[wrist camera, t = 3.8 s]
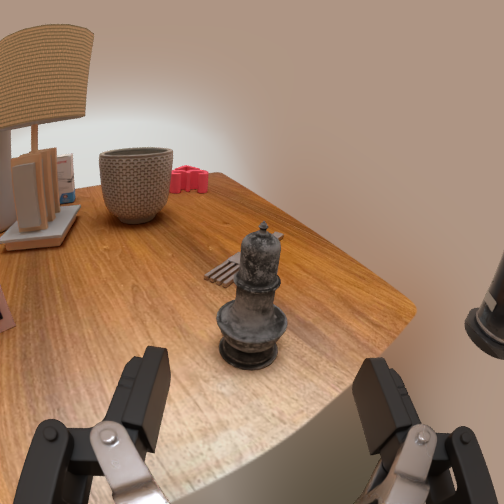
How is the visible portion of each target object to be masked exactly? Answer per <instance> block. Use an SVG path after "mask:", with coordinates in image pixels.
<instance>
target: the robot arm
mask: <svg viewBox="0 0 504 504" xmlns="http://www.w3.org/2000/svg"><path fill="white" fill-rule="evenodd" d="M475 322H476V325H477V326H478V328H479V329H480V331H481V332H482V333H483V334H484V335H485V336H486V337H488V338H489V339H490V340H492V341H493V342H495V343H497V344H499V345H503V346H504V252H503V255H502V257H501V260H500V263H499V265H498V268H497V270H496V273H495V275H494V278H493V280H492V282H491V285H490V287H489V289H488V291H487V293H486V296H485V298H484V300H483V302H482V304H481V306H480V308H479V309H478V311H477V313H476V315H475ZM170 380H171V372H170V365H169V358H168V351H167V349H166V348H161V347H154V346H147V348H146V350H145V353H144V356H143V358H141V357H135V356H134V357H133V358H132V359H131V360H130V361H129V362H128V363H127V364H126V365H125V367H124V370H123V372H122V375H121V377H120V380H119V382H118V386H117V387H116V390H115V392H114V395H113V398H112V400H111V403H110V406H109V408H108V411H107V414H106V416H105V418H104V419H103V421H102V422H100V423H98V424H96V425H95V426H94V427H91V428H66V427H65V425H64V424H63V423H62V422H60V421H58V420H55V419H48V420H45V421H43V422H41V423H40V424H39V425H38V427H37V429H36V431H35V434H34V437H33V439H32V442H31V445H30V448H29V451H28V453H27V456H26V459H25V463H24V466H23V469H22V472H21V476H20V479H19V483H18V486H17V490H16V494H15V498H14V502H13V504H88V500H89V494H90V489H91V484H92V479H93V476H105V477H106V479H107V481H108V483H109V485H110V487H111V490H112V492H113V494H112V496H113V499H114V502H115V504H171V503H170V502H169V500H168V499H167V498H166V496H165V495H164V493H163V492H162V490H161V489H160V487H159V485H158V484H157V482H156V481H155V479H154V477H153V476H152V474H151V473H150V471H149V469H148V467H147V466H146V464H145V462H144V461H145V456H146V452H150V453H155V448H156V444H157V439H158V434H159V430H160V425H161V421H162V417H163V412H164V408H165V404H166V400H167V395H168V391H169V387H170ZM352 391H353V396H354V399H355V402H356V406H357V409H358V412H359V416H360V420H361V423H362V426H363V430H364V434H365V437H366V441H367V444H368V448H369V452H370V455H375V454H380V455H381V458H380V460H379V461H378V463H377V465H376V467H375V469H374V471H373V473H372V475H371V477H370V479H369V481H368V483H367V485H366V487H365V489H364V490H363V492H362V494H361V495H360V497H359V498H358V499H357V500H356V501H355V502H354V503H353V504H424V503H425V502H426V504H498V501H497V497H496V494H495V490H494V487H493V484H492V480H491V477H490V474H489V471H488V468H487V466H486V462H485V460H484V457H483V454H482V452H481V449H480V446H479V444H478V441H477V439H476V436H475V434H474V432H473V431H472V430H471V429H470V428H468V427H465V426H461V427H458V428H456V429H455V430H454V431H453V432H452V433H451V434H449V433H435V431H434V430H433V429H432V428H431V427H429V426H428V425H425V424H422V423H421V422H420V419H419V417H418V415H417V413H416V410H415V408H414V406H413V403H412V401H411V399H410V396H409V395H408V392H407V390H406V388H405V385H404V383H403V381H402V379H401V377H400V376H399V374H397V372H396V371H395V370H393V369H389V368H388V365H387V363H386V361H385V359H384V358H382V357H381V358H366V359H365V360H364V362H363V364H362V366H361V368H360V370H359V372H358V374H357V375H356V377H355V379H354V381H353V387H352ZM451 467H452V469H453V472H454V476H455V479H456V482H457V491H455V488H454V485H453V481H452V477H451V474H450V470H449V468H451Z"/></svg>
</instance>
